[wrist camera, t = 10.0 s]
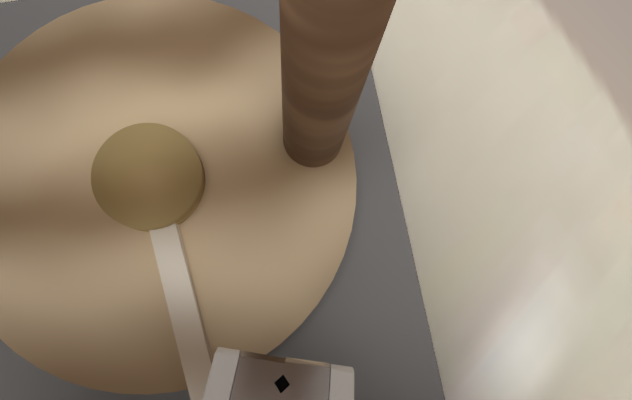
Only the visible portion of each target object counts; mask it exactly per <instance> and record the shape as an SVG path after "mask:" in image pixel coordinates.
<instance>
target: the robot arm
mask: <svg viewBox="0 0 632 400" xmlns="http://www.w3.org/2000/svg"><path fill="white" fill-rule="evenodd" d="M202 400H354V369H353V367H350V366H342V365H335V364H330V363H326V362H318V361H311V360H303V359H296V358H288V357H285V358H282V357H276V356H270V355H265V354H259V353H253V352H248V351H242V350H236V349H230V348H223V347H218V348H217V350H216V352H215V354H214V358H213V362H212V365H211V369H210V373H209V376H208V380H207V384H206V387H205V391H204V394H203V398H202Z"/></svg>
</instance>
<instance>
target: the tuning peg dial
mask: <svg viewBox="0 0 632 400" xmlns="http://www.w3.org/2000/svg"><path fill="white" fill-rule="evenodd" d="M395 2H396V0H279V12H280V33H279V32H278V31H276V30H275V29H273V28H271V27H270V26H268V25H267V24H265V23H263V22H262V21H260V20H258V19H257V18H255V17H253V16H251V15H249V14H246V13H244V12H242V11H240V10H238V9H236V8H233V7H230V6H227V5H224V4H221V3H218V2H215V1H212V0H103V1H100V2H97V3H93V4H90V5H87V6H83V7H81V8H79V9H76V10H74V11H72V12H69V13H67V14H65V15H62V16H60V17H58V18H56V19H55V20H53V21H51V22H49V23H48V24H46V25H44V26H43V27H41V28H39V29H37V30H36V31H35V32H33V33H32V34H31V35H29V36H28V37H27V38H25V39H24V40H23V41H21V42H20V43H19V44H17V45H16V46H15V47H14V48H13V49H12V50H11V51H10V52H9V53H8V54H6V55H5V56H4V57H3V58H2V59H1V60H0V339H1V340H2V341H3V342H4V343H5V344H6V345H7V346H8V347H9V348H11V349H12V350H13V351H14V352H15V353H17V354H18V355H20V356H21V357H23V358H24V359H26V360H27V361H29V362H30V363H32V364H33V365H35V366H36V367H37V368H39V369H42V370H44V371H46V372H48V373H50V374H52V375H54V376H56V377H58V378H60V379H62V380H65V381H68V382H71V383H74V384H77V385H80V386H84V387H87V388H90V389H95V390H101V391H107V392H112V393H118V394H145V395H149V394H159V393H169V392H177V391H182V390H186V389H188V391H189V395H190V399H191V400H202V398H203V394H204V391H205V387H206V384H207V380H208V376H209V373H210V369H211V365H212V362H213V358H214V354H215V352H216V350H217V348H218V347H223V348H230V349H236V350H242V351H248V352H253V353H259V354H265V355H266V354H268V353H269V352H270V351H272V350H273V349H274V348H276V347H277V346H279V345H280V344H281V343H282V342H283V341H284V340H285V339H286V338H288V337H289V336H290V335H291V334H292V333H293V332H294V331H295V330H296V329H297V328H298V327H299V326H300V325H301V324H302V323H303V322H304V320H305V319H306V318H307V317H308V316H309V314H310V313H311V312H312V311H313V309H314V308H315V307H316V306H317V305H318V303H319V302H320V300H321V298H322V297H323V295H324V294H325V292H326V290H327V289H328V287H329V286H330V284H331V282H332V281H333V279H334V277H335V274H336V272H337V270H338V268H339V266H340V263H341V261H342V259H343V257H344V254H345V251H346V247H347V244H348V241H349V237H350V234H351V231H352V225H353V219H354V213H355V207H356V184H357V177H356V168H355V158H354V151H353V147H352V143H351V139H350V135H349V130H348V128H349V125H350V122H351V120H352V117H353V114H354V112H355V109H356V106H357V104H358V101H359V98H360V96H361V93H362V90H363V88H364V85H365V82H366V80H367V77H368V74H369V72H370V69H371V66H372V64H373V61H374V58H375V56H376V53H377V50H378V47H379V45H380V42H381V39H382V37H383V34H384V31H385V29H386V26H387V23H388V21H389V18H390V15H391V13H392V10H393V7H394V5H395Z"/></svg>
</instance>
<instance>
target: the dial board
mask: <svg viewBox="0 0 632 400" xmlns="http://www.w3.org/2000/svg"><path fill="white" fill-rule="evenodd" d="M100 1H103V0H18V1H12V2H5V3H0V60H1V59H2V58H3V57H4V56H5V55H6V54H8V53H9V52H10V51H11V50H12V49H13V48H14V47H15V46H16V45H17V44H19V43H20V42H21V41H23V40H24V39H25V38H27V37H28V36H29V35H31V34H32V33H33V32H35V31H36V30H37V29H39V28H41V27H43V26H44V25H46V24H48V23H49V22H51V21H53V20H55V19H56V18H58V17H60V16H62V15H65V14H67V13H69V12H72V11H74V10H76V9H79V8H81V7H83V6H87V5H90V4H93V3H97V2H100ZM212 1H215V2H218V3H221V4H224V5H227V6H230V7H233V8H236V9H238V10H240V11H242V12H244V13H246V14H249V15H251V16H253V17H255V18H257V19H258V20H260V21H262V22H263V23H265V24H267V25H268V26H270V27H271V28H273V29H275V30H276V31H278V32H279V33H280V12H279V0H212ZM348 130H349V135H350V139H351V143H352V147H353V151H354V158H355V168H356V177H357V184H356V207H355V213H354V219H353V225H352V231H351V234H350V237H349V241H348V244H347V247H346V251H345V254H344V257H343V259H342V261H341V263H340V266H339V268H338V270H337V272H336V274H335V277H334V279H333V281H332V282H331V284H330V286H329V287H328V289H327V290H326V292H325V294H324V295H323V297H322V298H321V300H320V302H319V303H318V305H317V306H316V307H315V308H314V309H313V311H312V312H311V313H310V314H309V316H308V317H307V318H306V319H305V320H304V322H303V323H302V324H301V325H300V326H299V327H298V328H297V329H296V330H295V331H294V332H293V333H292V334H291V335H290V336H289V337H288V338H286V339H285V340H284V341H283V342H282V343H281V344H280V345H279V346H277V347H276V348H274V349H273V350H272V351H270V352H269V353H268V354H266V355H270V356H276V357H282V358H285V357H288V358H296V359H303V360H311V361H318V362H326V363H330V364H335V365H342V366H350V367H353V369H354V400H445V397H444V392H443V388H442V384H441V379H440V375H439V370H438V366H437V361H436V357H435V352H434V348H433V343H432V339H431V334H430V330H429V325H428V321H427V316H426V312H425V308H424V303H423V299H422V294H421V290H420V285H419V281H418V276H417V272H416V267H415V263H414V258H413V254H412V249H411V245H410V240H409V236H408V232H407V227H406V223H405V218H404V214H403V209H402V205H401V200H400V196H399V191H398V187H397V182H396V178H395V173H394V169H393V164H392V160H391V156H390V151H389V147H388V142H387V138H386V133H385V129H384V124H383V120H382V115H381V111H380V106H379V102H378V97H377V93H376V88H375V84H374V80H373V75H372V71H371V69H370V72H369V74H368V77H367V80H366V82H365V85H364V88H363V90H362V93H361V96H360V98H359V101H358V104H357V106H356V109H355V112H354V114H353V117H352V120H351V122H350V125H349V128H348ZM0 400H191V399H190V395H189V391H188V389H186V390H182V391H177V392H169V393H159V394H149V395H145V394H118V393H112V392H107V391H101V390H95V389H90V388H87V387H84V386H80V385H77V384H74V383H71V382H68V381H65V380H62V379H60V378H58V377H56V376H54V375H52V374H50V373H48V372H46V371H44V370H42V369H39V368H37V367H36V366H35V365H33V364H32V363H30V362H29V361H27V360H26V359H24V358H23V357H21V356H20V355H18V354H17V353H15V352H14V351H13V350H12V349H11V348H9V347H8V346H7V345H6V344H5V343H4V342H3V341H2V340H1V339H0Z"/></svg>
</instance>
